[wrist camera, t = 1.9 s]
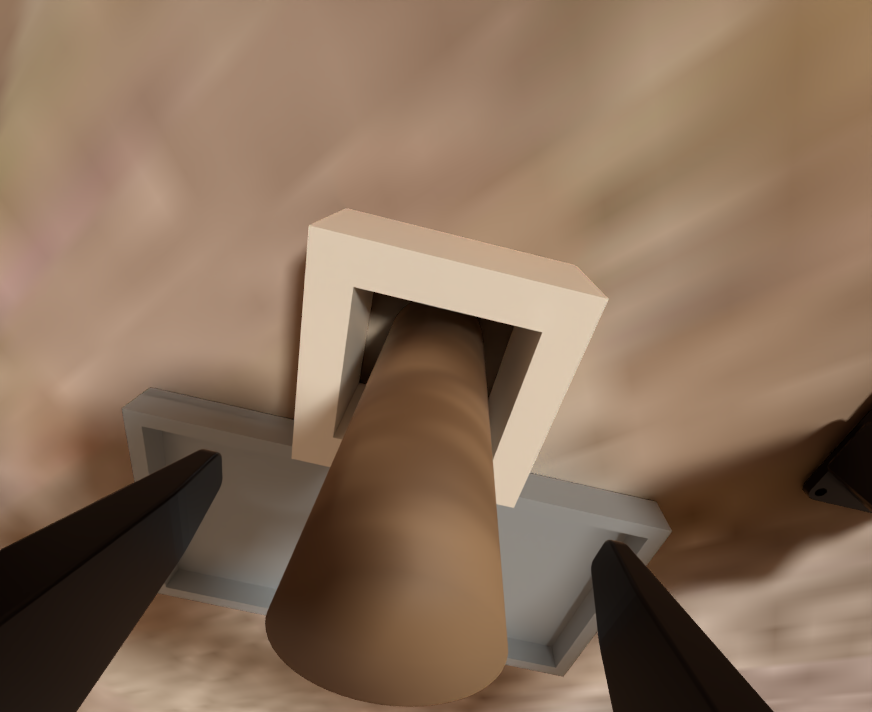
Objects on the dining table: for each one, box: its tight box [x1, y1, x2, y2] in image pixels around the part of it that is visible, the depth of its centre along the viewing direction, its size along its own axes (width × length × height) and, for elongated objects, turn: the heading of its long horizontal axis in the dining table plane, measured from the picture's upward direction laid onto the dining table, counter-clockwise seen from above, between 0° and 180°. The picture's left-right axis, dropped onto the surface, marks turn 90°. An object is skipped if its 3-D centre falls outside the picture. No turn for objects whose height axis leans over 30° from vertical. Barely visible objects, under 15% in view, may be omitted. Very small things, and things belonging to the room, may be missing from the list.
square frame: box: [291, 208, 608, 508], centre depth 15 cm, size 9×9×4 cm
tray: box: [122, 387, 672, 677], centre depth 22 cm, size 26×14×2 cm, turn 77°
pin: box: [265, 301, 508, 707], centre depth 12 cm, size 4×4×12 cm
